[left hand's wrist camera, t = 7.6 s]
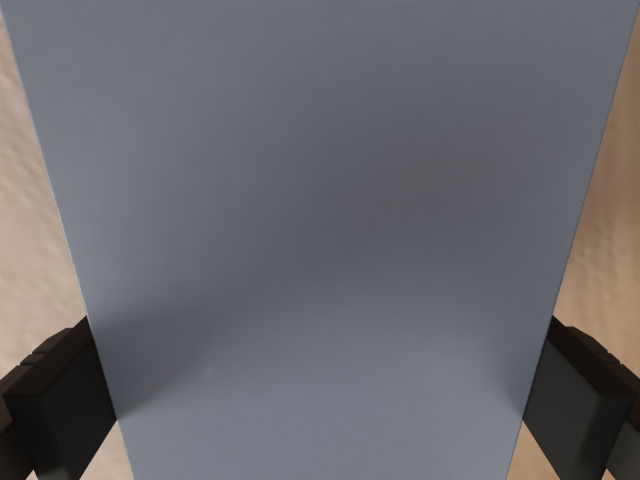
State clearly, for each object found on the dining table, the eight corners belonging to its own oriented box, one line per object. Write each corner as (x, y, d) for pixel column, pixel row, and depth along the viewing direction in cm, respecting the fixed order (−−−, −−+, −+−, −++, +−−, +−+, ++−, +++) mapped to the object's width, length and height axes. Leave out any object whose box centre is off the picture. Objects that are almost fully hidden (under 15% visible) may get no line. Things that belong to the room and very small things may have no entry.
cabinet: (147, -178, 11) (-231, -786, 4) (491, -178, 11) (865, -781, 4) (213, 322, 18) (134, 488, 11) (426, 322, 18) (505, 487, 11)
